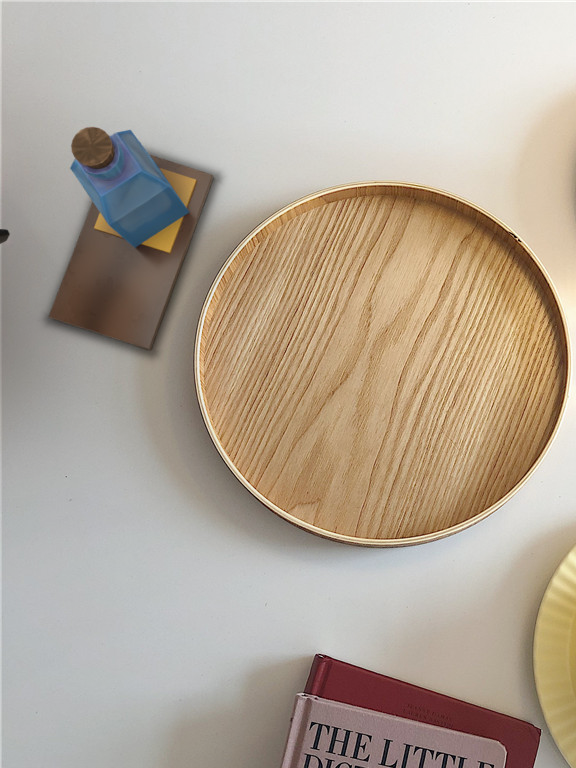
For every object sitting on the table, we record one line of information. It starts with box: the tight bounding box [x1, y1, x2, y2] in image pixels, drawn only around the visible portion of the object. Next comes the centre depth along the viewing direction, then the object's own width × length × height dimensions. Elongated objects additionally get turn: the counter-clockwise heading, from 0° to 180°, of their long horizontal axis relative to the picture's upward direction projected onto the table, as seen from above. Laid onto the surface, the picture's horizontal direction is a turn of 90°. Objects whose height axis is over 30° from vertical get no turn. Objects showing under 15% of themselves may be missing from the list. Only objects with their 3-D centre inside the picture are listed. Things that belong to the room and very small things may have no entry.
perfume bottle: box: [69, 126, 189, 248], centre depth 60 cm, size 6×6×12 cm
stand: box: [48, 154, 215, 351], centre depth 66 cm, size 10×18×1 cm, turn 162°
